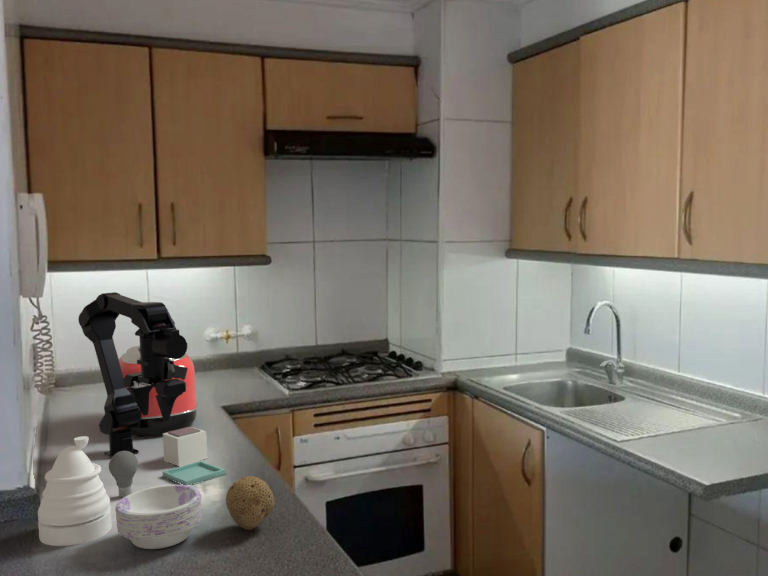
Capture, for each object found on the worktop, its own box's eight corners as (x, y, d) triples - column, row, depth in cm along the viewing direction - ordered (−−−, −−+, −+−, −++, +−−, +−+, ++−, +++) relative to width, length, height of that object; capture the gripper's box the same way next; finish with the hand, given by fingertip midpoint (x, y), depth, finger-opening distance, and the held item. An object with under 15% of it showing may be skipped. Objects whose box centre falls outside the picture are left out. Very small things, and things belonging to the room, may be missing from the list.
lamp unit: (164, 461, 180) (162, 432, 179) (193, 452, 186) (192, 424, 185) (179, 466, 175) (177, 437, 175) (208, 458, 181) (207, 429, 181)
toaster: (204, 433, 204) (200, 352, 202) (118, 444, 196) (113, 360, 194) (189, 408, 234) (185, 337, 232) (113, 417, 225) (109, 344, 223)
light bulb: (130, 489, 161) (127, 445, 160) (145, 495, 157) (142, 450, 156) (105, 497, 156) (102, 452, 155) (120, 503, 152) (117, 457, 151)
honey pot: (107, 513, 147) (101, 426, 146) (116, 535, 136) (110, 442, 135) (37, 527, 141) (31, 437, 140) (41, 551, 130) (34, 454, 129)
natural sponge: (255, 514, 144) (253, 466, 143) (285, 525, 138) (283, 475, 138) (218, 529, 138) (215, 478, 137) (247, 542, 132) (245, 489, 131)
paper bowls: (103, 540, 134) (101, 499, 134) (178, 516, 145) (176, 477, 144) (141, 566, 123) (138, 521, 123) (218, 537, 134) (216, 496, 133)
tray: (162, 476, 168) (162, 471, 168) (201, 465, 176) (201, 460, 176) (186, 486, 161) (186, 481, 161) (225, 474, 169) (225, 469, 169)
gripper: (203, 353, 174) (206, 417, 176) (160, 346, 186) (163, 405, 188) (163, 361, 166) (166, 427, 167) (120, 352, 178) (124, 414, 179)
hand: (156, 418), depth 176 cm, fingers open, 9 cm apart
